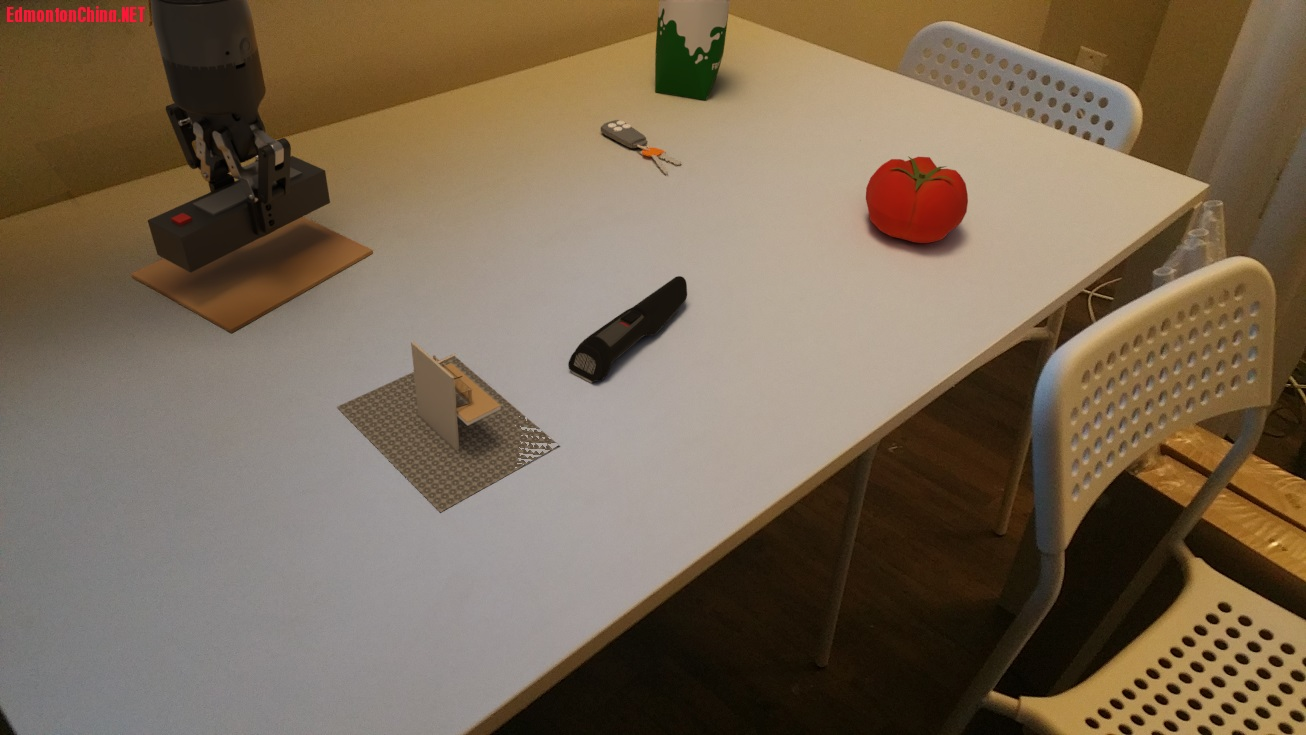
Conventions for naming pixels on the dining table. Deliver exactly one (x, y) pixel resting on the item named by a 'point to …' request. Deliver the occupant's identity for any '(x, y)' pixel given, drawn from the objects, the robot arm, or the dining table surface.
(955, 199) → the tomato
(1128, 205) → the dining table surface
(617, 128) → the key chain
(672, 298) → the electric trimmer
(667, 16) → the milk carton
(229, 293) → the cork mat
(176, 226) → the remote
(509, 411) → the architectural model
